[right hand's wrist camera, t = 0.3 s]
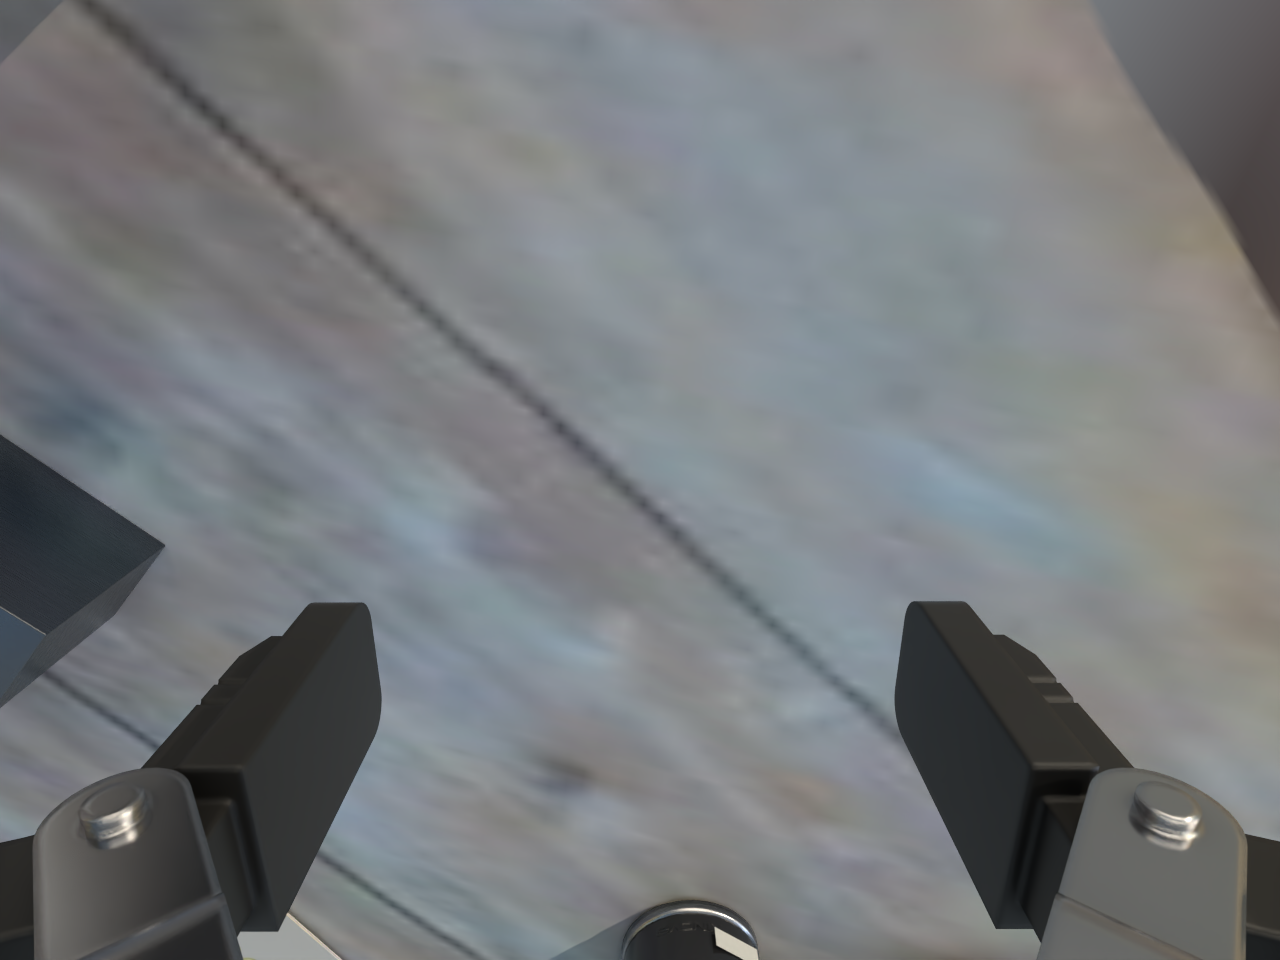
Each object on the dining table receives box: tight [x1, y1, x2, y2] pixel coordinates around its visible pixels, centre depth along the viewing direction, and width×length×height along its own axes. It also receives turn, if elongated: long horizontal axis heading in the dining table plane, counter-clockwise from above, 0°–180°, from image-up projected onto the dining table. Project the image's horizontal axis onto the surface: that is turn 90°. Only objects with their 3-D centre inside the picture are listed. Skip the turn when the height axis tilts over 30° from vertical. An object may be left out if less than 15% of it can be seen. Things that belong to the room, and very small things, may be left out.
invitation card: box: [237, 913, 342, 960], centre depth 53 cm, size 21×1×15 cm
